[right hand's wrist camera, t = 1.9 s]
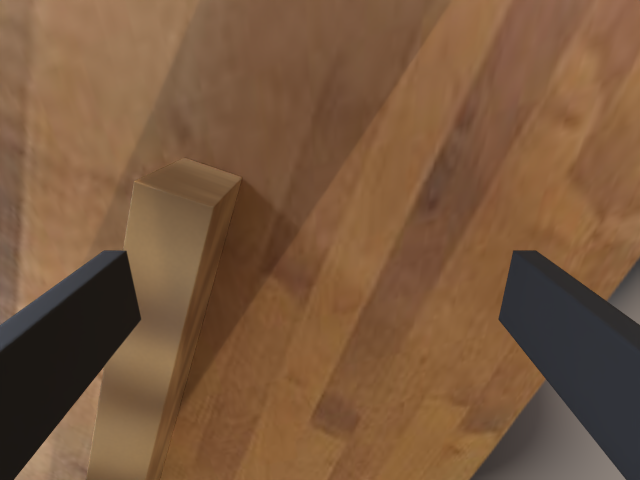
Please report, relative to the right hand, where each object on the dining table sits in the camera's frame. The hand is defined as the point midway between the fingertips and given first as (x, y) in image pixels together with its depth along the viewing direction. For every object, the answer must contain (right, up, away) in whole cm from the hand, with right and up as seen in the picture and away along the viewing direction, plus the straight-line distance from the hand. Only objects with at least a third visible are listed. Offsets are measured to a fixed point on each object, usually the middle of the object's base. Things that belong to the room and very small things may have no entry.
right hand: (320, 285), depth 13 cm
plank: (-17, -16, +25) cm, 34 cm away
